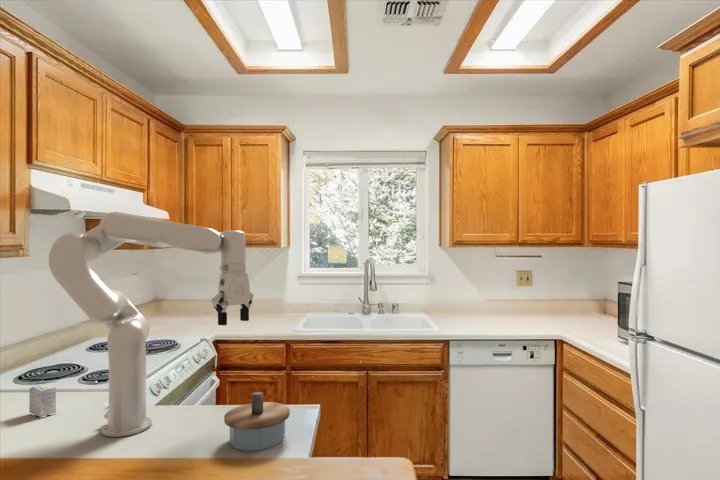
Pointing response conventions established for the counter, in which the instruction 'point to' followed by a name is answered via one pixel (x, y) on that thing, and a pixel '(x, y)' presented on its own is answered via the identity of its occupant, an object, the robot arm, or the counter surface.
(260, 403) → the lid
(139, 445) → the counter surface
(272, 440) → the bowl
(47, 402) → the medicine box
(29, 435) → the counter surface
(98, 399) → the counter surface
